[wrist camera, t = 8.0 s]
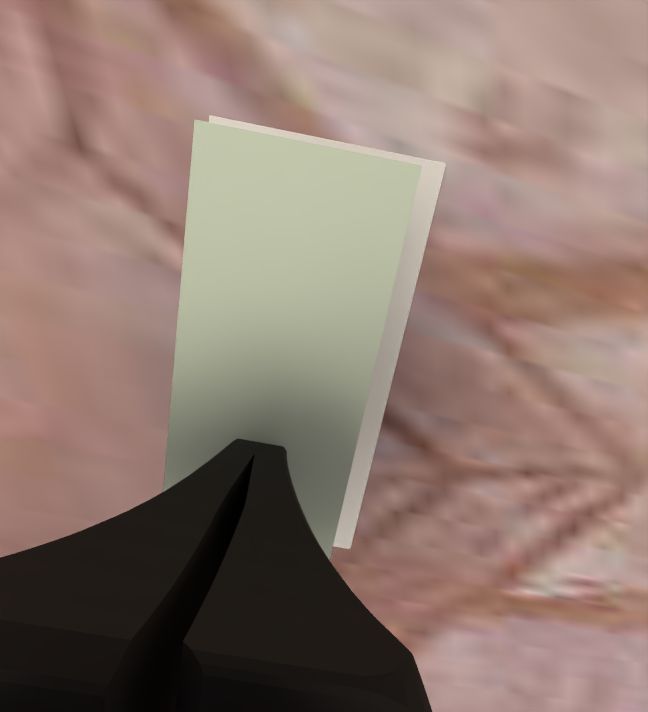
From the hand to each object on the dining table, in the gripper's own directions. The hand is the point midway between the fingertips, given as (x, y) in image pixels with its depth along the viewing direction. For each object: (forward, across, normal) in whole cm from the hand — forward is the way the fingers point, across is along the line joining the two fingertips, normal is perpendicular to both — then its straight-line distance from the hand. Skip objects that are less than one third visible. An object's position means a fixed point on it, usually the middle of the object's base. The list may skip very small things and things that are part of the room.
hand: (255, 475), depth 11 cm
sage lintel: (+6, 0, 0) cm, 6 cm away
